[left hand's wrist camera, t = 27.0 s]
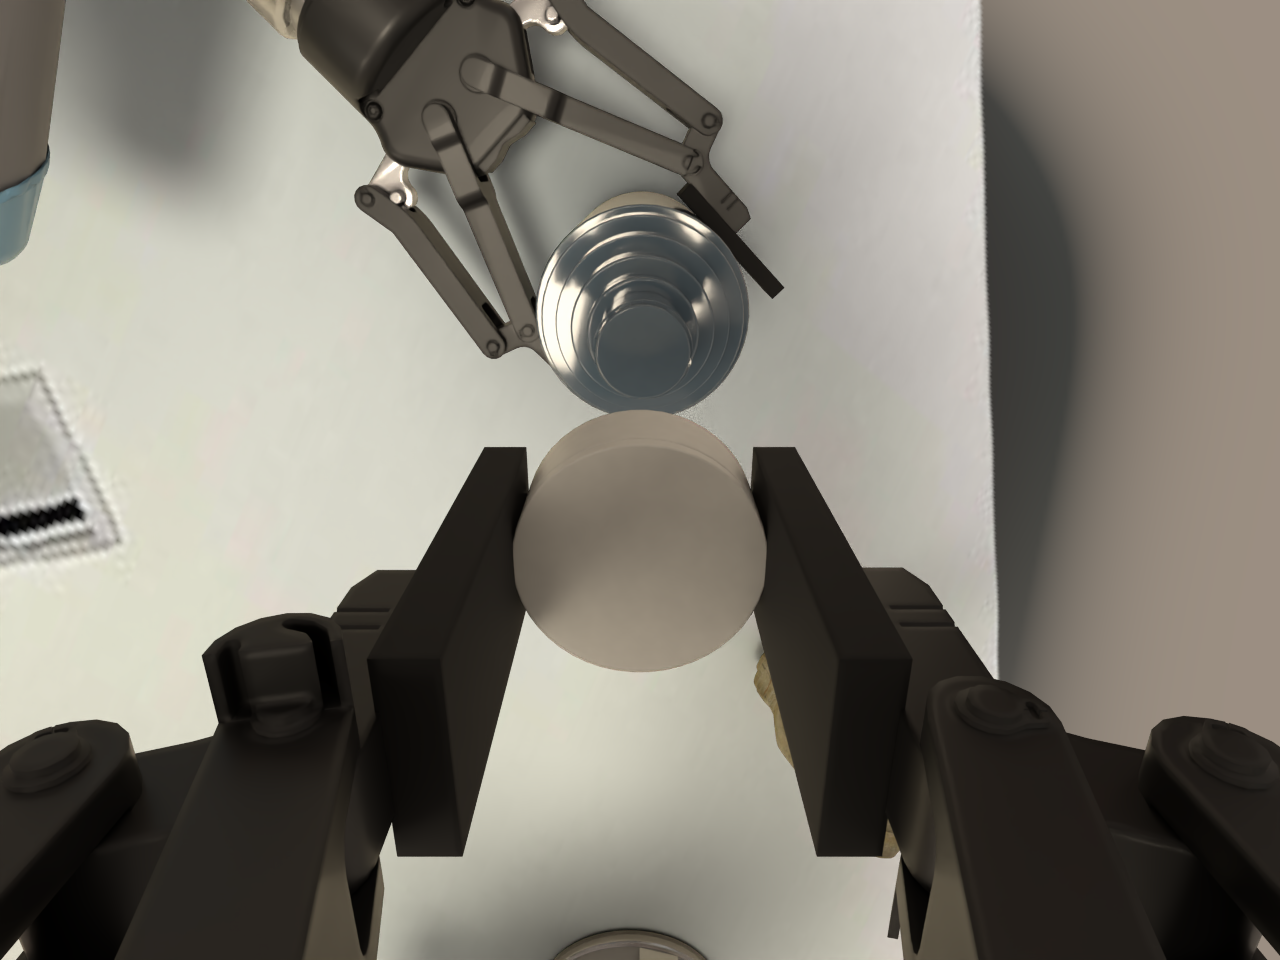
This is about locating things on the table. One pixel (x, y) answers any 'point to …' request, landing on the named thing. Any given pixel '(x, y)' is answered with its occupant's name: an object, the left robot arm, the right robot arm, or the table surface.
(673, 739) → the table surface
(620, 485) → the cap
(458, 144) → the right robot arm
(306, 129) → the table surface
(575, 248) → the bottle
